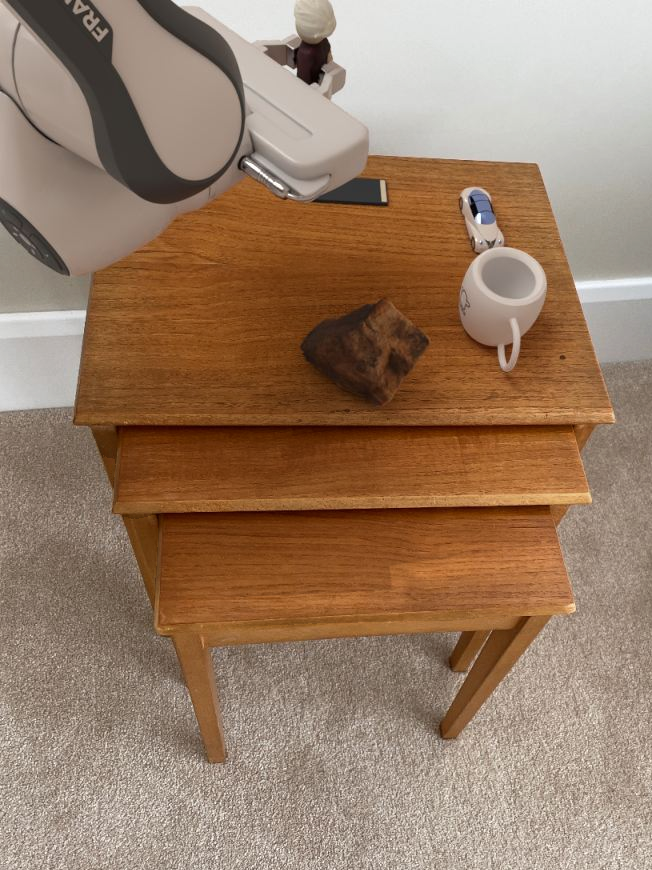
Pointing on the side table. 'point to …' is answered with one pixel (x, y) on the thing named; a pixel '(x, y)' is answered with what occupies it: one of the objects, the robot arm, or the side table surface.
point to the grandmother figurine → (313, 37)
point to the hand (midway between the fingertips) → (320, 59)
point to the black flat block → (358, 192)
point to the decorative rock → (367, 350)
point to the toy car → (480, 219)
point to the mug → (502, 299)
